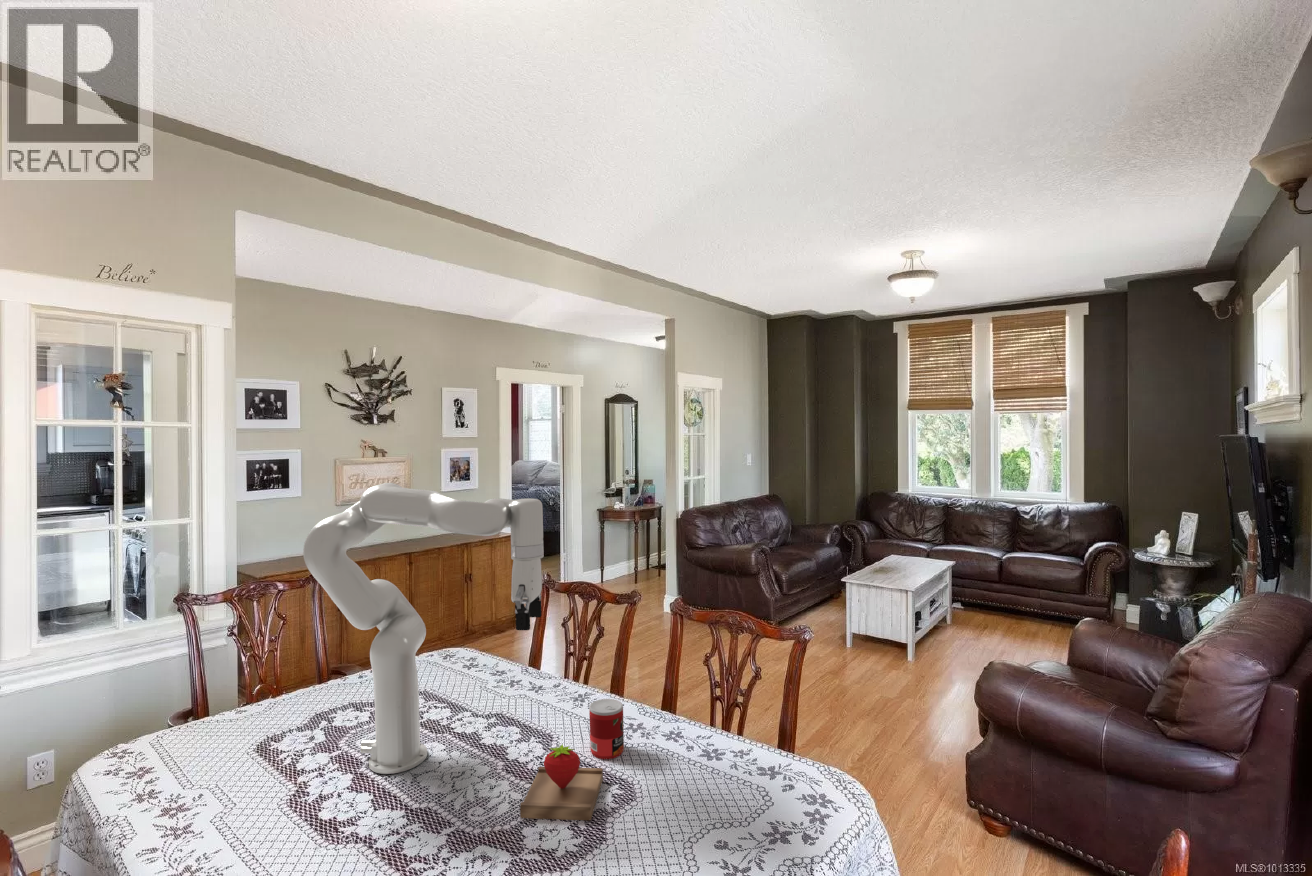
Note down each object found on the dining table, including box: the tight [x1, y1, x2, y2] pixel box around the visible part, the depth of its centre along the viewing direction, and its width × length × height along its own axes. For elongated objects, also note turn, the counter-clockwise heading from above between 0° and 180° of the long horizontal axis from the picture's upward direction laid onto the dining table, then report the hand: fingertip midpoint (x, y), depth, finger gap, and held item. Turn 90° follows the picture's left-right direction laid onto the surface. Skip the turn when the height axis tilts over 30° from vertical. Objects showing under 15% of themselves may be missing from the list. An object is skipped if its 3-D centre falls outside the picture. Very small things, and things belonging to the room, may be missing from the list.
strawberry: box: [543, 742, 581, 789], centre depth 131 cm, size 6×8×10 cm
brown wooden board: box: [519, 766, 604, 821], centre depth 131 cm, size 14×14×3 cm
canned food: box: [588, 698, 625, 760], centre depth 149 cm, size 8×8×11 cm
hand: (529, 623), depth 150 cm, fingers open, 9 cm apart
